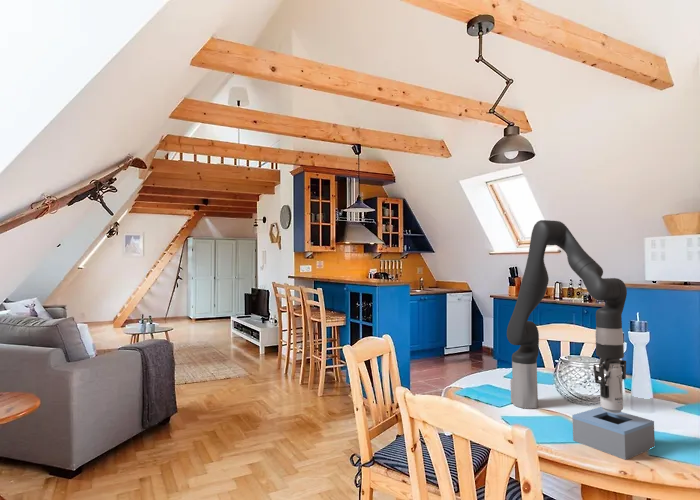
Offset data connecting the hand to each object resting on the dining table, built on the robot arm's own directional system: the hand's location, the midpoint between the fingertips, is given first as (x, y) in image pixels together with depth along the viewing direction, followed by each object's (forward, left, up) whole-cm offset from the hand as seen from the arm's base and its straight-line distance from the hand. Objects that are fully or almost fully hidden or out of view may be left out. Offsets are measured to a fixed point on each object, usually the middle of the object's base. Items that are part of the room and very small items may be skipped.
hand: (611, 395), depth 136 cm
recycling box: (0, 0, -15) cm, 15 cm away
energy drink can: (0, 0, -5) cm, 5 cm away
